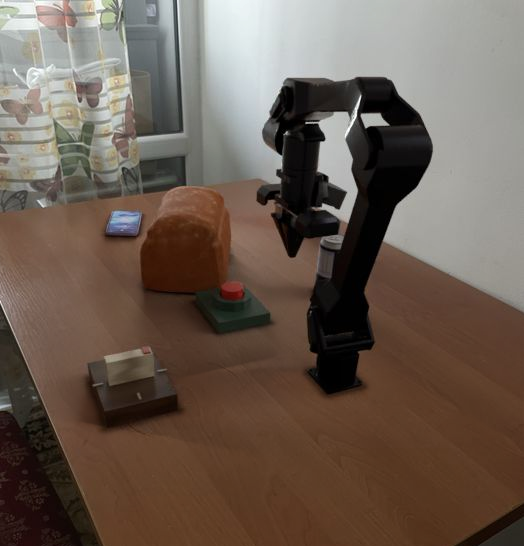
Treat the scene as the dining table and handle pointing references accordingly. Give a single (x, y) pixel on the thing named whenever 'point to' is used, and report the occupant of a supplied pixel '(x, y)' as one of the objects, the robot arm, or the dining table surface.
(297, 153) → the robot arm
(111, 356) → the cream block
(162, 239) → the bread
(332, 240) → the beverage can
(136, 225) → the smartphone
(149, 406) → the switch base
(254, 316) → the block
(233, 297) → the button
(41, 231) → the dining table surface
